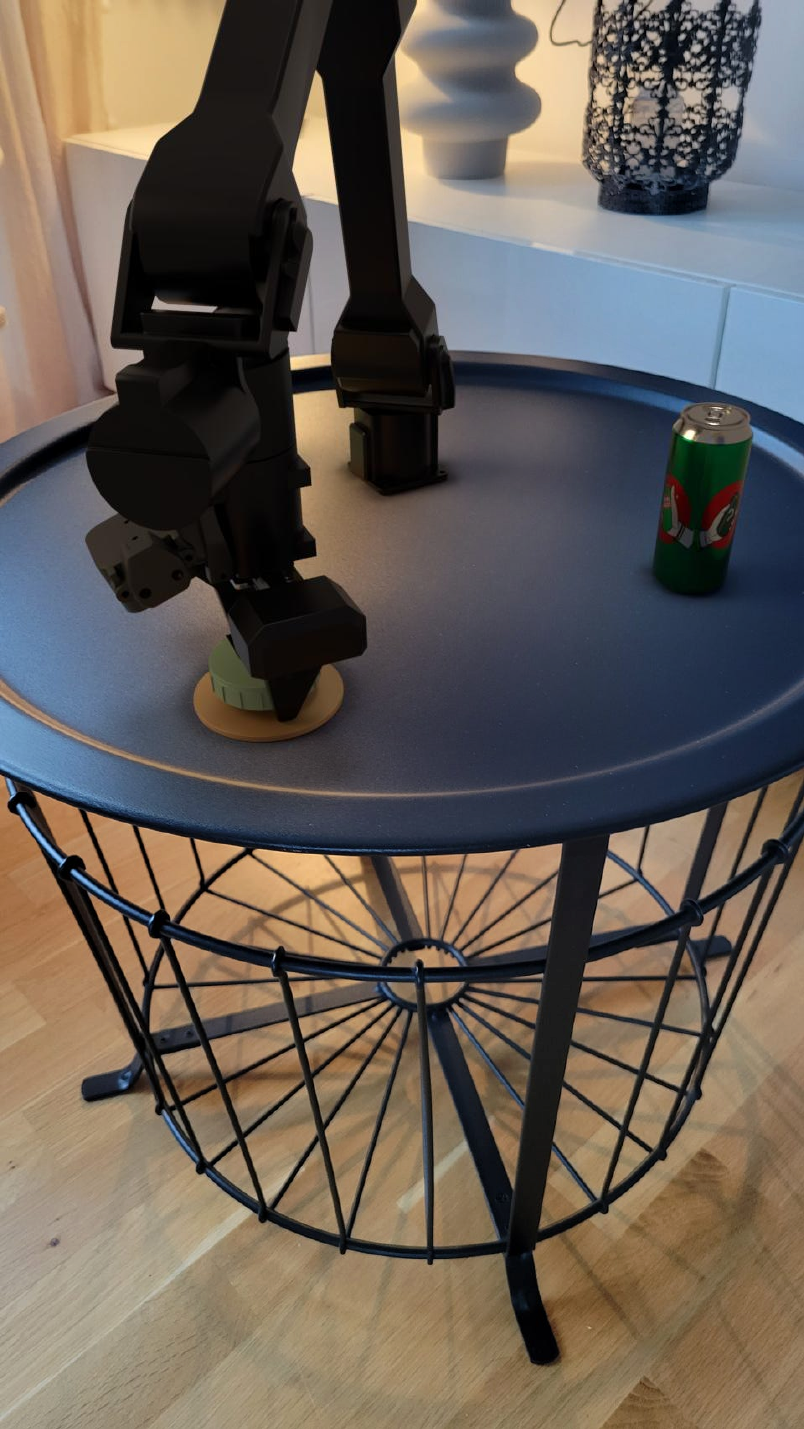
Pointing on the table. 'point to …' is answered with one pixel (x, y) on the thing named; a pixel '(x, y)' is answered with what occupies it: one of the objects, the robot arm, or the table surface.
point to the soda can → (701, 496)
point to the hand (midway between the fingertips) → (268, 688)
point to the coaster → (269, 711)
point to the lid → (238, 680)
